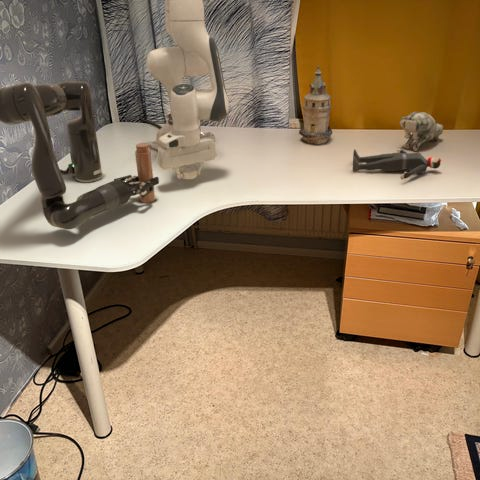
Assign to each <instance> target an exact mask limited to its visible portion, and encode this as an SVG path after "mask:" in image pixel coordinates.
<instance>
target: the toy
mask: <svg viewBox="0 0 480 480" xmlns="http://www.w3.org/2000/svg"><path fill="white" fill-rule="evenodd" d="M352 157H353V158H352V171H353V172H355V173H356V172H358V171H377V170H379V171H393V172H397V171H398V172H399V171H401V170H409V171H404V172H403V174H400V179H401V180H405V179H408V178H410V177H411V176H413V175H415V174H423V173H425V172H426V171H427V169H428V168H429V169H435V170H436V169H438V168H439V167H440V166H441V162H442V160H441V158H439V157H437V156H430V157H428V158H427V159H426V158H425V157H424V155H423V154H422V153H421V152H410V153H409V152H406V151H405V150H404V149H402V148H401V149H399V148H397V149H396V152H392V153H381V154H376V155H367V156H360V155H359V153H358V151H357V149H355V148H354V149H353V153H352Z"/></svg>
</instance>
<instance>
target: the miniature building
mask: <svg viewBox="0 0 480 480" xmlns="http://www.w3.org/2000/svg"><path fill="white" fill-rule="evenodd" d="M320 67H321V66H320V65H317V66H316V68H317V69H316V71H315V72H314V75H315V76H314V79H313V81H312V83H310V84H309V85H308V86H309V93H307V94H306V95H304V96H303V97H302V98H303V105H301V106H302V109H303V114H302V115H303V124H302V127H300V129H299V132H298V134H299V136H300V137H302V139H303V141H305V142H307V143H309V144H314V145H320V144H321V145H322V144H325V143H326V142H327V141H328V140H329V139H330V137H332V135H333V129H331V125H329V120H330V115H331V108H332V106H333V105H332V104H331V98H332V96H331V95H330V94H328V93H326V81H324V82H323V78H322V71H321V70H320Z"/></svg>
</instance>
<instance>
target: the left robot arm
mask: <svg viewBox="0 0 480 480" xmlns="http://www.w3.org/2000/svg"><path fill="white" fill-rule="evenodd" d="M93 101H94V100H93V92H92V88H91V86H90V84H89V82H86V81H61V82H59V83H56V84H55V83H50V82H47V83H39V84H33V83H30V82H23V83H18V84H13V85H9V86H4V87H1V88H0V122H1V123H3V124H5V125H10V126H13V125H19V124H23V123H27V122H31V124H32V128H33V132H34V145H33V150H32V155H31V162H30V169H31V174H32V177H33V179H34V182H35V184H36V187H37V190H38V191H39V193H40V201H41V206H42V213H43V216H44V218H45V220H46V221H47V223H48V224H49V225H50V226H52V227H54V228H58V229H64V230H73V229H76V228H78V227H80V226H82V225H83V224H85V223H86V222H88V221H89V220H90V219H91V218H92V217H96V216H98V215H100V214H102V213H104V212H108V211H110V210H113V209H115V208H118V207H119V206H121V205H124V204H127V203H128V202H129V201H130V199H131V197H133V196H137V195H140V194H141V197H145V196H147V195H148V194H149V193H151V192H152V191H153V186H154V187H155V186H157V185H159V183H160V178H159V177H158V176H155V177H153V178H152V179H150V180H148V181H144V182H143V181H138V175H131V174H129V175H125V176H121V177H116V178H114V179H113V180H112V181H109V182H107V183H104V184H102V185H100V186H98V187H96V188H94V189H92V190H89V191H87V192H85V193H82V194H80V195H79V196H77V198H76V200H75V201H73V202H70V203H67V202H66V203H65V200H64V196H63V195H65V193H66V192H67V185H66V182H65V179H64V177H63V174H68V173H69V174H72V175H73V177H74V178H75V179H74V180H75V181H77V182H80V183H92V182H96V181H99V180H101V179H102V178H103V176H104V175H103V170H102V162H101V157H100V156H101V155H100V151H99V150H100V149H99V144H98V137H97V131H96V124H95V113H94V102H93ZM63 111H68V112H80V115H79V116H78V117H76V118H73V119H70V120H69V121H67V122H66V125H65V126H66V133H67V137H68V143H69V148H70V151H69V156H70V160H71V161H70V162H71V163H69V164H68V165H67V168H66V170H63V169H60V167H59V163H58V160H57V157H56V153H55V150H54V145H53V139H52V135H51V131H50V126H49V123H48V122H49V121H48V118H49V117H53V116H57V115H59V114H61V113H63ZM139 184H140V185H139ZM144 184H147V185H145V186H144ZM140 187H141V189H140Z"/></svg>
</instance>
